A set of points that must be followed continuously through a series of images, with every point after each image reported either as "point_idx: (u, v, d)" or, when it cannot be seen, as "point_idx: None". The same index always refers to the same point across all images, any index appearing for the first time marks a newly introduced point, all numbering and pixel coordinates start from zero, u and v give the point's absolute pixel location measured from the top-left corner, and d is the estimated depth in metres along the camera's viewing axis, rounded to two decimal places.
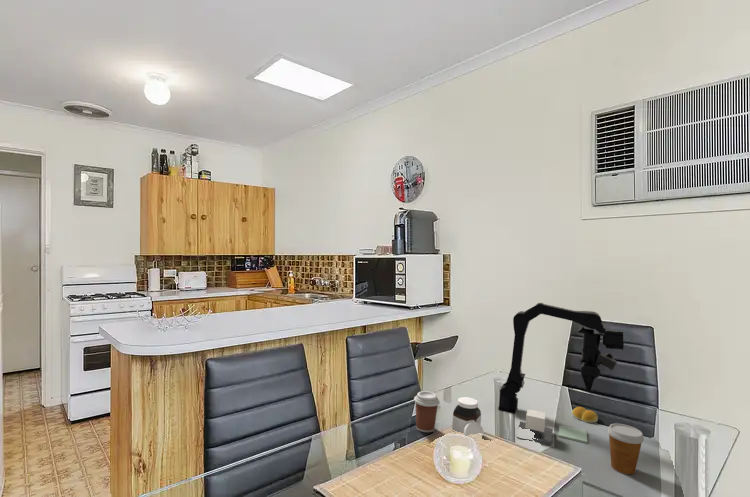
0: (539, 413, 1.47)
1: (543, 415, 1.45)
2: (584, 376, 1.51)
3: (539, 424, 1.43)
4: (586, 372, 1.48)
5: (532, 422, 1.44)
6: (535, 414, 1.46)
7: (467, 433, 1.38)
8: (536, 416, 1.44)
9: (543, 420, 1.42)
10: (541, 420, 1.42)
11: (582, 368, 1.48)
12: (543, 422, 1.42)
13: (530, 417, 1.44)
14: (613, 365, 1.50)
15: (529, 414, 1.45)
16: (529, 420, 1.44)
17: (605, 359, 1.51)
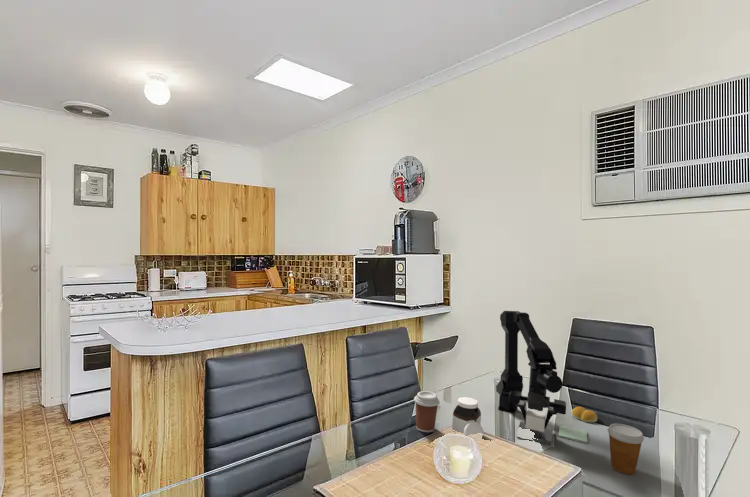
0: (539, 413, 1.47)
1: (543, 415, 1.45)
2: None
3: (539, 424, 1.43)
4: None
5: (532, 422, 1.44)
6: (535, 414, 1.46)
7: (467, 433, 1.38)
8: (536, 416, 1.44)
9: (543, 420, 1.42)
10: (541, 420, 1.42)
11: None
12: (543, 422, 1.42)
13: (530, 417, 1.44)
14: (528, 403, 1.40)
15: (529, 414, 1.45)
16: (529, 420, 1.44)
17: (528, 395, 1.42)
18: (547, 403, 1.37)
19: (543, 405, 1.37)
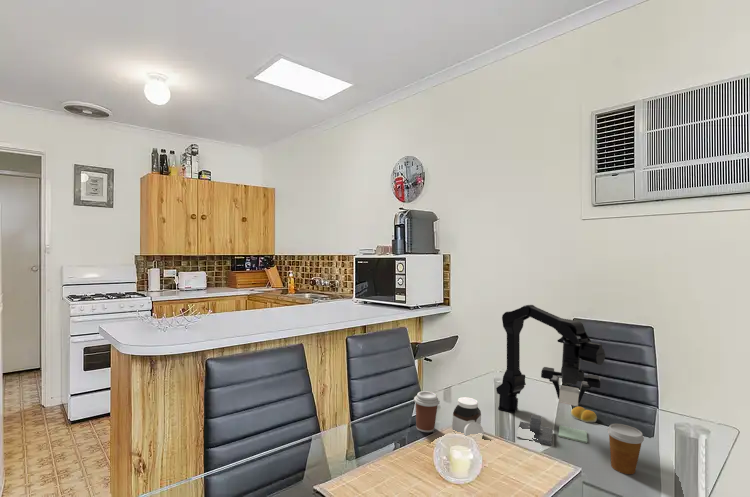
0: (572, 388, 1.48)
1: (576, 390, 1.46)
2: None
3: (573, 398, 1.44)
4: None
5: (566, 397, 1.45)
6: (568, 389, 1.47)
7: (467, 433, 1.38)
8: (570, 391, 1.45)
9: (577, 394, 1.43)
10: (575, 394, 1.43)
11: None
12: (577, 396, 1.43)
13: (563, 392, 1.45)
14: (562, 376, 1.41)
15: (562, 389, 1.46)
16: (563, 395, 1.45)
17: None
18: (582, 376, 1.39)
19: (578, 378, 1.39)
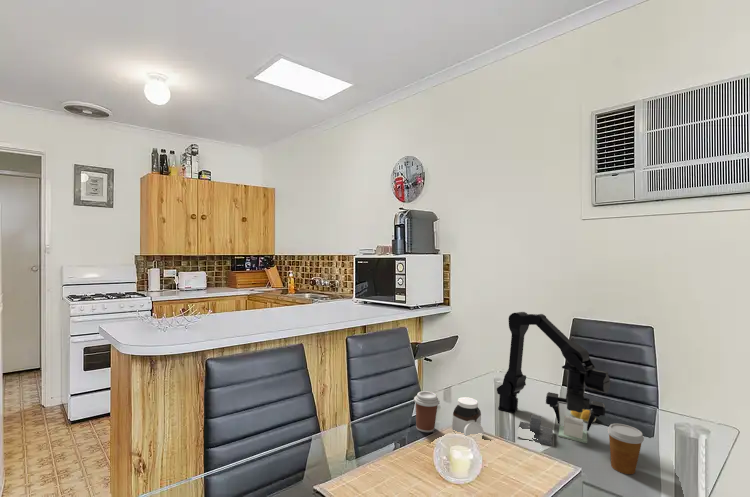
0: (576, 420, 1.48)
1: (581, 422, 1.47)
2: None
3: (577, 431, 1.45)
4: None
5: (570, 429, 1.46)
6: (572, 420, 1.48)
7: (467, 433, 1.38)
8: (574, 423, 1.46)
9: (581, 427, 1.44)
10: (579, 427, 1.44)
11: None
12: (581, 429, 1.44)
13: (568, 424, 1.46)
14: (567, 404, 1.42)
15: (567, 421, 1.47)
16: (567, 427, 1.46)
17: (567, 397, 1.44)
18: (587, 405, 1.39)
19: (583, 406, 1.39)
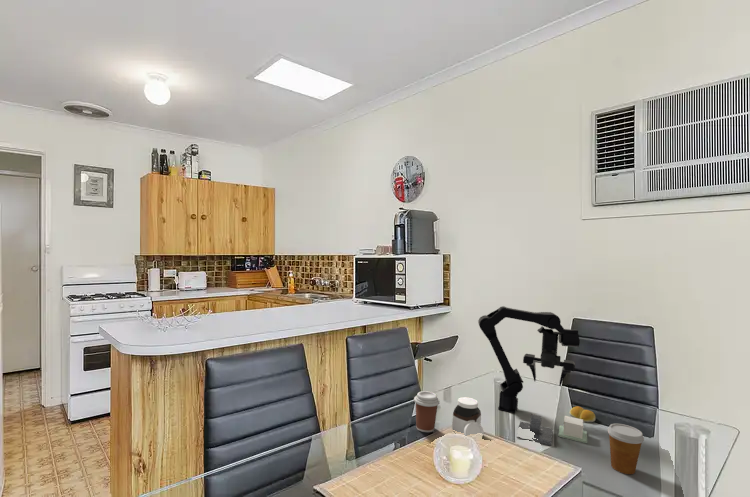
0: (576, 420, 1.48)
1: (581, 422, 1.47)
2: None
3: (577, 431, 1.45)
4: None
5: (570, 429, 1.46)
6: (572, 420, 1.48)
7: (467, 433, 1.38)
8: (574, 423, 1.46)
9: (581, 427, 1.44)
10: (579, 427, 1.44)
11: None
12: (581, 429, 1.44)
13: (568, 424, 1.46)
14: (541, 361, 1.60)
15: (567, 421, 1.47)
16: (567, 427, 1.46)
17: (541, 355, 1.62)
18: (558, 361, 1.57)
19: (555, 363, 1.57)
